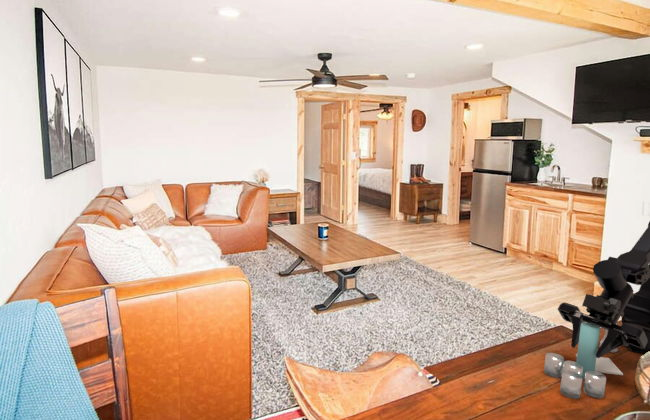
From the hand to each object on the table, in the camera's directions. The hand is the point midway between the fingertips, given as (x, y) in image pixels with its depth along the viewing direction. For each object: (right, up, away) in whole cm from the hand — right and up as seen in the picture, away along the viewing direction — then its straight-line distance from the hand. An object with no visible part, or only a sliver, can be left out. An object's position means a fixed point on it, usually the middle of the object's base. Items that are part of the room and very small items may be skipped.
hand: (584, 351), depth 99 cm
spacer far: (-7, -8, -6) cm, 12 cm away
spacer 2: (-4, -7, -1) cm, 8 cm away
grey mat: (+8, -6, +7) cm, 12 cm away
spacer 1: (-6, -6, +2) cm, 9 cm away
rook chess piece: (+17, -5, +15) cm, 23 cm away
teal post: (+1, -6, +2) cm, 7 cm away
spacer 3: (-1, -8, -6) cm, 9 cm away
